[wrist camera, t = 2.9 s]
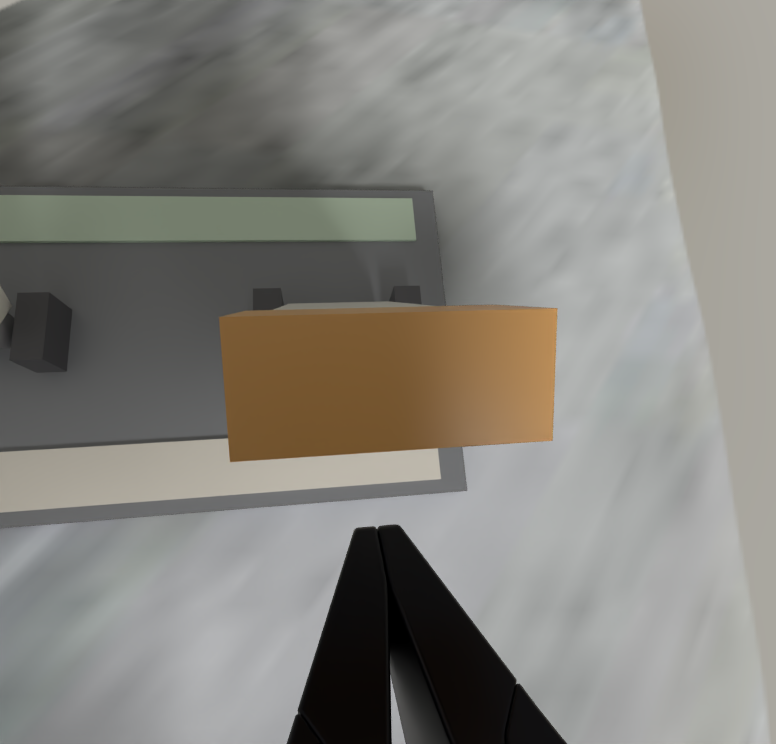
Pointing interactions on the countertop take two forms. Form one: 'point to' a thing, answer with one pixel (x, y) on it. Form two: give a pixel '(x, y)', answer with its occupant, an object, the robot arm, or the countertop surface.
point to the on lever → (5, 321)
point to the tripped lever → (385, 378)
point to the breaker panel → (184, 342)
